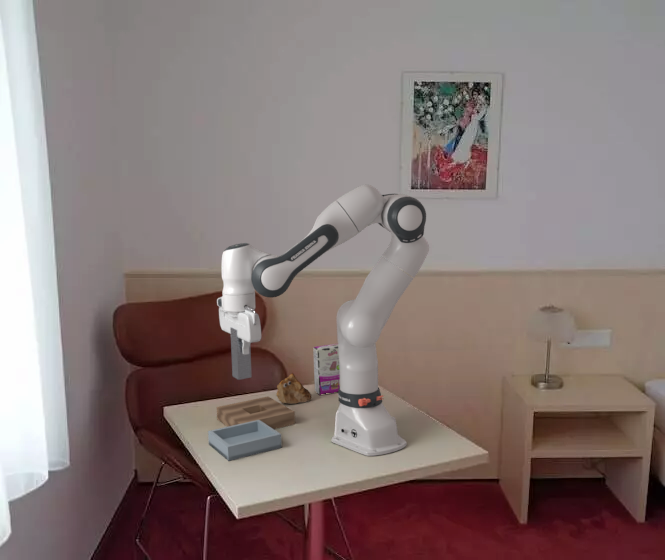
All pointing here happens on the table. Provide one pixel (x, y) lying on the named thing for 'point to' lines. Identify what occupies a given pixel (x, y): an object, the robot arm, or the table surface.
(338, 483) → the table surface
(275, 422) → the block
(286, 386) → the decorative rock
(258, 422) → the tray
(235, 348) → the pin
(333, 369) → the candy bar box
